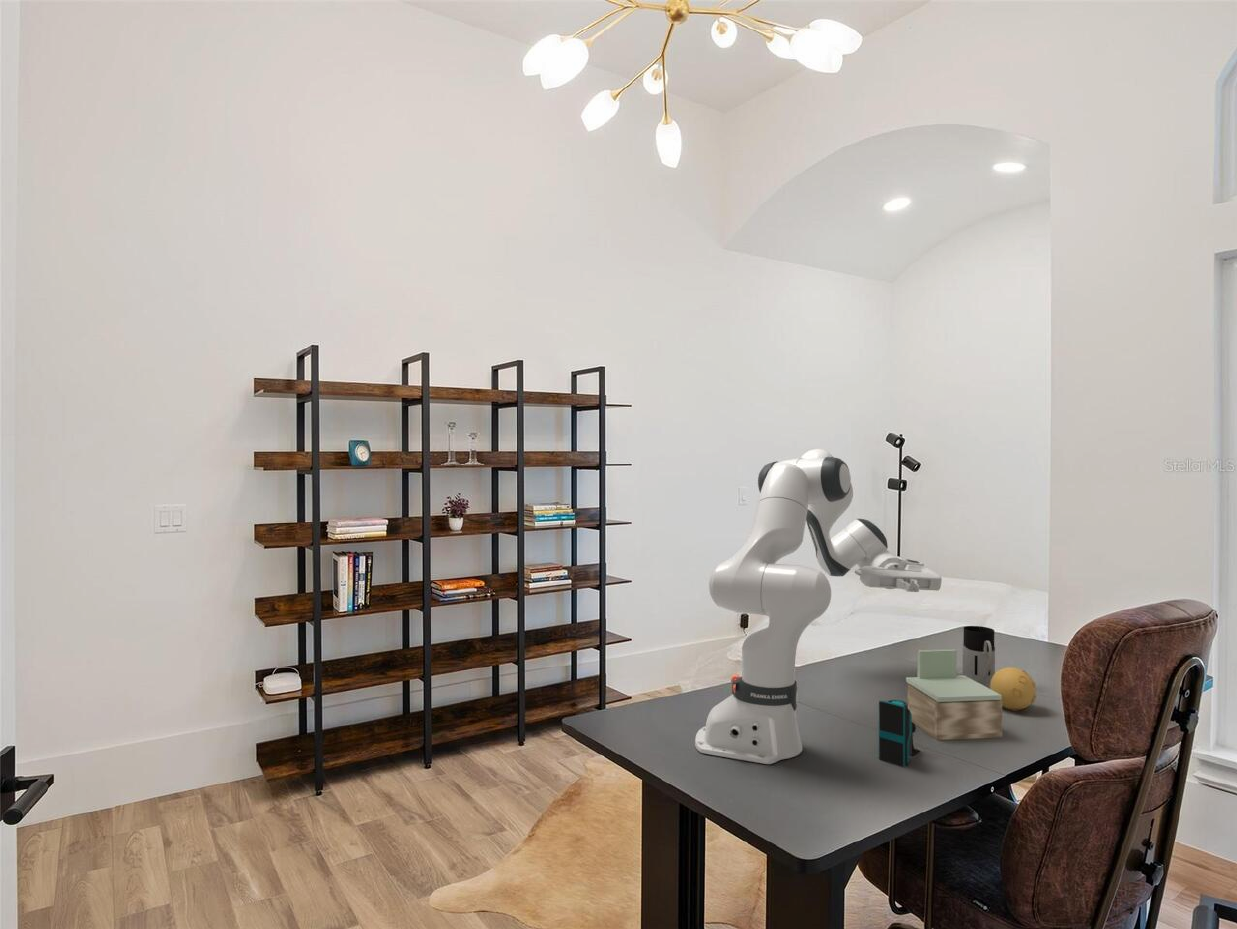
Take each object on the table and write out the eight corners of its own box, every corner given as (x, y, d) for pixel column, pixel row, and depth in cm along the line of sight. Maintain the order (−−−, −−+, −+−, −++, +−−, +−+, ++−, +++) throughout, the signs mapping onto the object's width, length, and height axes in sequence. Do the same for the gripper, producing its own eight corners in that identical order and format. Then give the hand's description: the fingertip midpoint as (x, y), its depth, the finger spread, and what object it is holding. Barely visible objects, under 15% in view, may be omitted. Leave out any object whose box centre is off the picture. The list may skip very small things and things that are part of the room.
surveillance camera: (925, 695, 152) (904, 707, 145) (925, 753, 153) (904, 767, 146) (899, 689, 156) (877, 700, 149) (898, 745, 157) (877, 759, 150)
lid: (938, 702, 159) (938, 668, 159) (906, 681, 173) (906, 650, 173) (1001, 699, 161) (1001, 666, 161) (964, 679, 175) (964, 648, 175)
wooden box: (936, 739, 159) (937, 703, 159) (907, 718, 172) (907, 684, 172) (1001, 737, 161) (1002, 701, 161) (967, 716, 174) (968, 682, 174)
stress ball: (985, 710, 180) (1000, 694, 173) (983, 673, 186) (997, 656, 179) (1028, 719, 179) (1045, 704, 171) (1025, 681, 185) (1041, 665, 177)
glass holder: (990, 680, 201) (991, 626, 201) (1008, 697, 187) (1009, 639, 187) (956, 678, 203) (957, 624, 202) (972, 695, 189) (972, 637, 188)
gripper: (853, 558, 195) (875, 574, 182) (927, 562, 197) (954, 578, 183) (850, 580, 196) (871, 599, 183) (923, 584, 198) (950, 602, 185)
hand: (913, 588), depth 183 cm, fingers closed
